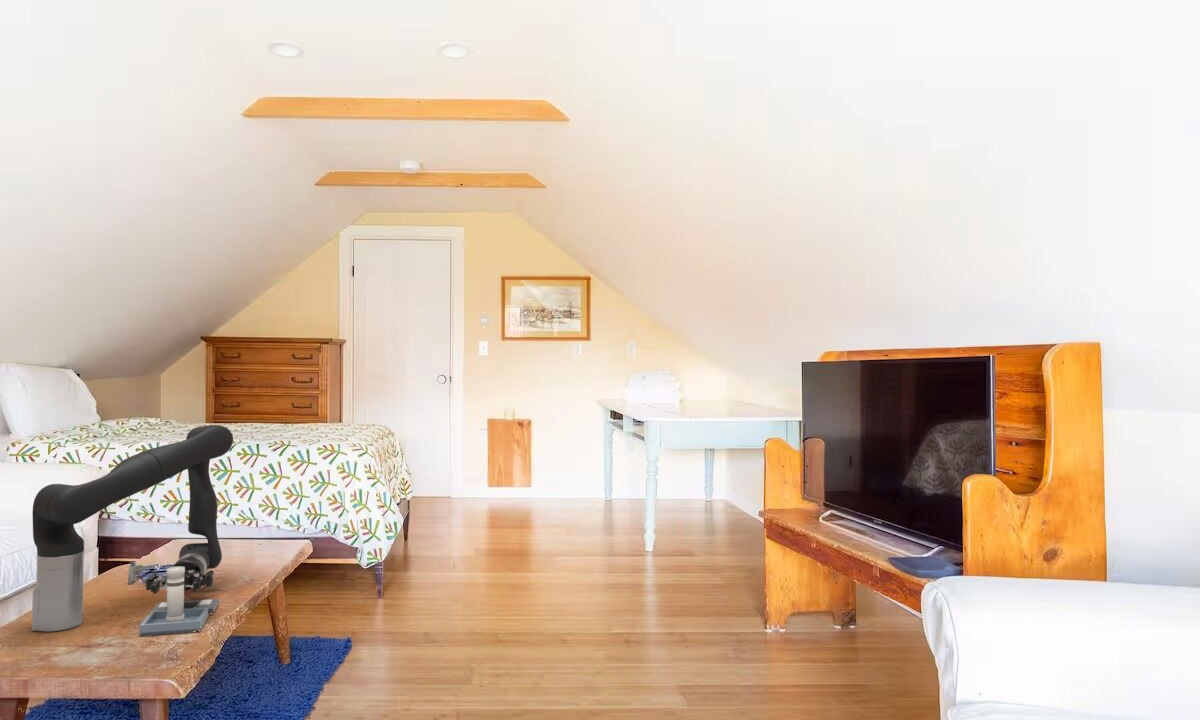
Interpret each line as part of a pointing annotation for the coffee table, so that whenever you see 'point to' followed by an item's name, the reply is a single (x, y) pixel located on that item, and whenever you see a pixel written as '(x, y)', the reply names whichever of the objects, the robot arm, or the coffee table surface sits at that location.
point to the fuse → (175, 594)
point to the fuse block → (192, 605)
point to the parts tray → (158, 625)
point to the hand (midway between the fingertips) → (174, 588)
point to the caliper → (136, 571)
